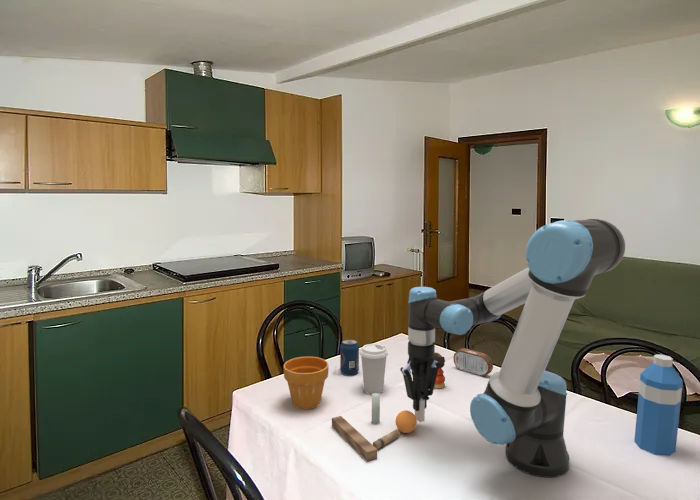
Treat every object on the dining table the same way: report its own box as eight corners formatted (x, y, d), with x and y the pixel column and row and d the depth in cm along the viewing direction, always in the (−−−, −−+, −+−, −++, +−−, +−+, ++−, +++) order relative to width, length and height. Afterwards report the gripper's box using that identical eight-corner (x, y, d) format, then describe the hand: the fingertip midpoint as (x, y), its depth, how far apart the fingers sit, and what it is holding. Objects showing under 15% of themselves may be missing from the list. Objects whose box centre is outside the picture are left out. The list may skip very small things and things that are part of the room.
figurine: (448, 385, 165) (449, 352, 163) (442, 391, 160) (443, 357, 159) (431, 381, 168) (432, 348, 167) (425, 386, 164) (426, 353, 162)
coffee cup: (385, 397, 156) (386, 353, 154) (357, 394, 158) (357, 351, 155) (389, 385, 165) (389, 343, 163) (362, 382, 167) (362, 342, 165)
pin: (401, 434, 130) (379, 447, 124) (397, 438, 131) (375, 451, 125) (396, 427, 131) (375, 440, 125) (392, 431, 132) (371, 443, 126)
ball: (419, 417, 131) (402, 428, 129) (421, 429, 134) (404, 441, 132) (407, 402, 135) (390, 413, 133) (409, 415, 139) (392, 425, 137)
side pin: (381, 422, 139) (381, 395, 138) (374, 424, 138) (374, 397, 137) (376, 419, 141) (377, 392, 140) (370, 421, 140) (370, 394, 139)
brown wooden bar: (377, 458, 121) (377, 449, 121) (367, 461, 120) (367, 452, 119) (340, 423, 138) (340, 415, 138) (331, 426, 137) (331, 418, 137)
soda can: (338, 369, 178) (338, 339, 177) (356, 368, 180) (356, 337, 178) (342, 377, 172) (342, 345, 170) (361, 375, 173) (361, 343, 172)
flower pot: (334, 409, 147) (334, 369, 145) (289, 416, 143) (289, 375, 141) (321, 390, 160) (321, 354, 159) (280, 397, 156) (279, 359, 154)
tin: (492, 377, 172) (493, 354, 171) (489, 379, 170) (490, 357, 169) (455, 366, 182) (456, 345, 181) (451, 368, 180) (452, 347, 179)
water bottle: (676, 460, 121) (686, 366, 117) (633, 449, 125) (642, 359, 122) (674, 443, 128) (683, 355, 125) (634, 433, 133) (642, 348, 130)
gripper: (431, 334, 140) (429, 409, 143) (394, 341, 134) (393, 419, 137) (448, 341, 134) (445, 420, 137) (410, 349, 127) (408, 431, 131)
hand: (419, 419), depth 137 cm, fingers closed
